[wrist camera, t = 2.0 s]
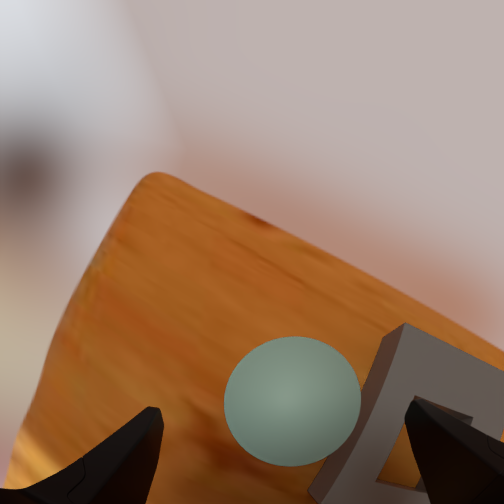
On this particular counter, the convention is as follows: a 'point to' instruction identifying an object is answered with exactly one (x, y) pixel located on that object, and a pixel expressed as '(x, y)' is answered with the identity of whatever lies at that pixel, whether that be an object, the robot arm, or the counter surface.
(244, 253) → the counter surface
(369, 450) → the socket block
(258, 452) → the teal peg
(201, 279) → the counter surface
